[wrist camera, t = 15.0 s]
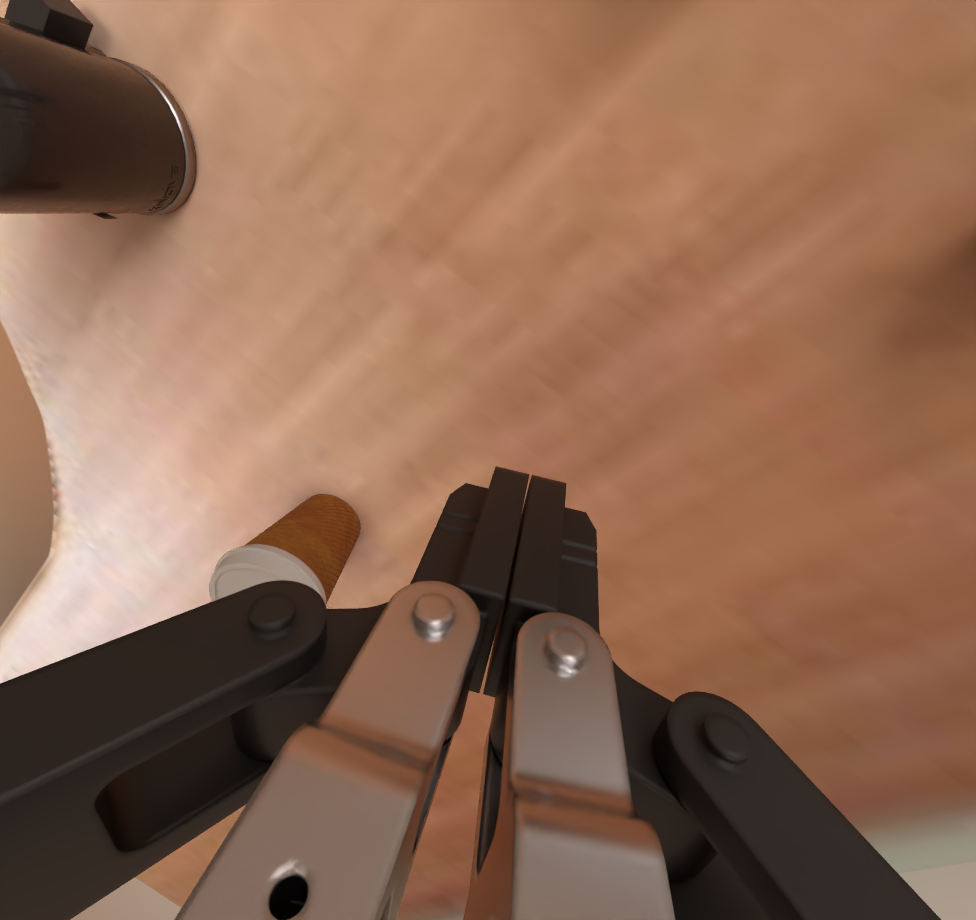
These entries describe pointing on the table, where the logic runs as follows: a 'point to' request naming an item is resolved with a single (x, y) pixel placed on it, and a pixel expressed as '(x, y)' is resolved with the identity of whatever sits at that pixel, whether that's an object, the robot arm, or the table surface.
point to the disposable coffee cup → (293, 550)
